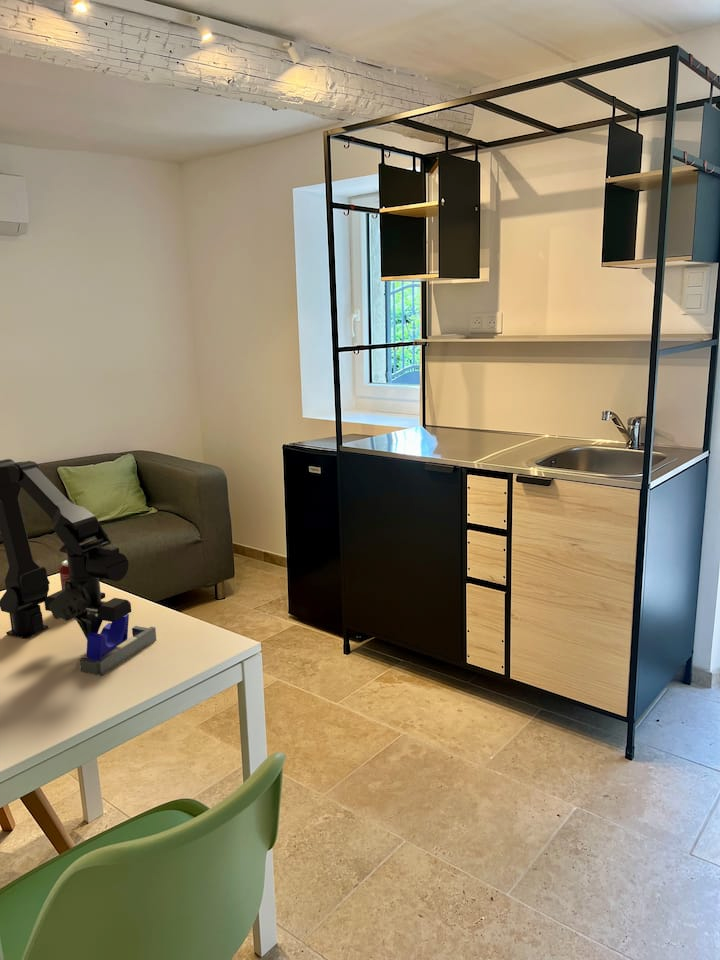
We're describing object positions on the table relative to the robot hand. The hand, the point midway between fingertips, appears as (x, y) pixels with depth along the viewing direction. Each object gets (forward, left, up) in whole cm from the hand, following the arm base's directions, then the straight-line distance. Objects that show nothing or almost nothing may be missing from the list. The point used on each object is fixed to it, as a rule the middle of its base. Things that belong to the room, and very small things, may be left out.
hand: (91, 642), depth 156 cm
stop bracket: (+7, 0, -2) cm, 8 cm away
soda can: (-20, +17, -2) cm, 26 cm away
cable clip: (+3, +1, -2) cm, 3 cm away
